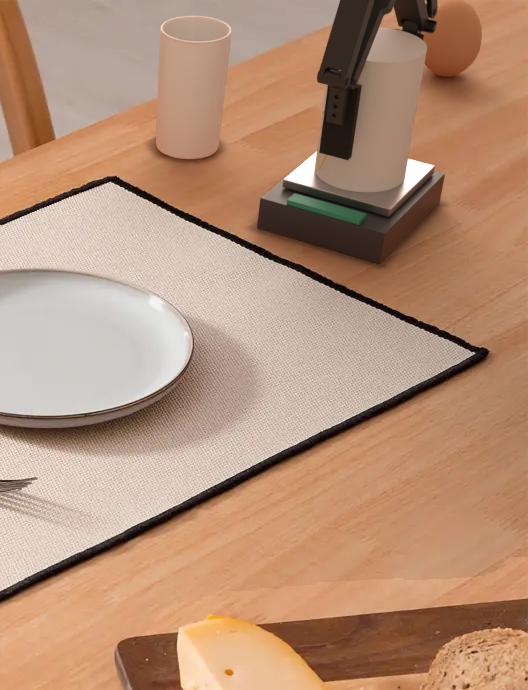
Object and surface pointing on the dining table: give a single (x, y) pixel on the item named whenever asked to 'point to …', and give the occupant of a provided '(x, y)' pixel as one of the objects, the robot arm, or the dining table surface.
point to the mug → (191, 85)
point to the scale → (346, 220)
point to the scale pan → (370, 201)
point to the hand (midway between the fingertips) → (367, 128)
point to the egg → (453, 39)
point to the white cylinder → (380, 116)
